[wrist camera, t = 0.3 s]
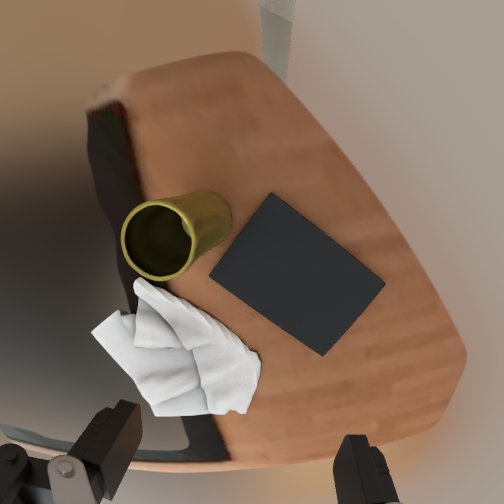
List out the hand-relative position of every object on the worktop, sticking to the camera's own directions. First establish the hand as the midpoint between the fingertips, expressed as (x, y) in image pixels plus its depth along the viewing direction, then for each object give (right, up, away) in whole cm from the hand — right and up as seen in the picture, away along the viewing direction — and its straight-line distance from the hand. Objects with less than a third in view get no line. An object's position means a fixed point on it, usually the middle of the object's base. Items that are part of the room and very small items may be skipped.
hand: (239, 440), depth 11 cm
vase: (-5, +11, +23) cm, 26 cm away
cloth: (-9, -5, +27) cm, 29 cm away
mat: (+6, +4, +24) cm, 25 cm away
